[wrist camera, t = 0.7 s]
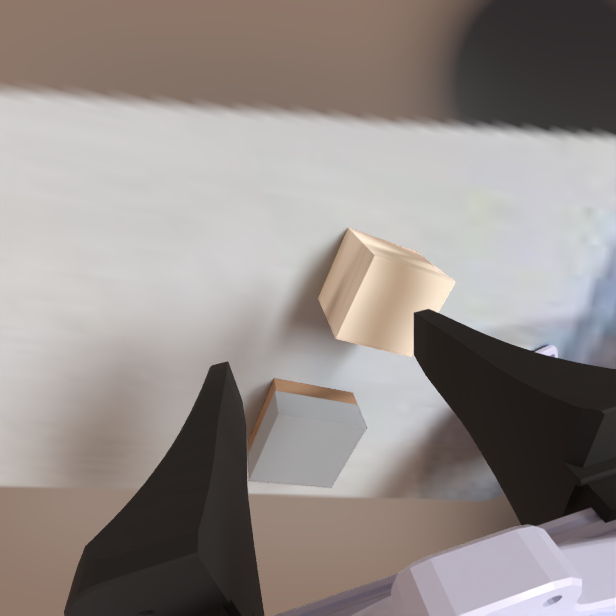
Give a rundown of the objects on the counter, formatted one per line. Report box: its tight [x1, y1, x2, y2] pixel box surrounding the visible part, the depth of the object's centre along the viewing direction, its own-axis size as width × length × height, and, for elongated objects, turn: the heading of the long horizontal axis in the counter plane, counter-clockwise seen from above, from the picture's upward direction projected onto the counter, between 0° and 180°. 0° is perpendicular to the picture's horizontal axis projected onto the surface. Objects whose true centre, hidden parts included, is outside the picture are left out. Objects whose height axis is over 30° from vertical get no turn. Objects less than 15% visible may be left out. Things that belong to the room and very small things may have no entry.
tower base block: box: [249, 378, 357, 451], centre depth 28 cm, size 6×6×2 cm
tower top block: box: [248, 391, 367, 488], centre depth 26 cm, size 6×6×2 cm
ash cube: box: [318, 228, 456, 357], centre depth 21 cm, size 5×5×5 cm
